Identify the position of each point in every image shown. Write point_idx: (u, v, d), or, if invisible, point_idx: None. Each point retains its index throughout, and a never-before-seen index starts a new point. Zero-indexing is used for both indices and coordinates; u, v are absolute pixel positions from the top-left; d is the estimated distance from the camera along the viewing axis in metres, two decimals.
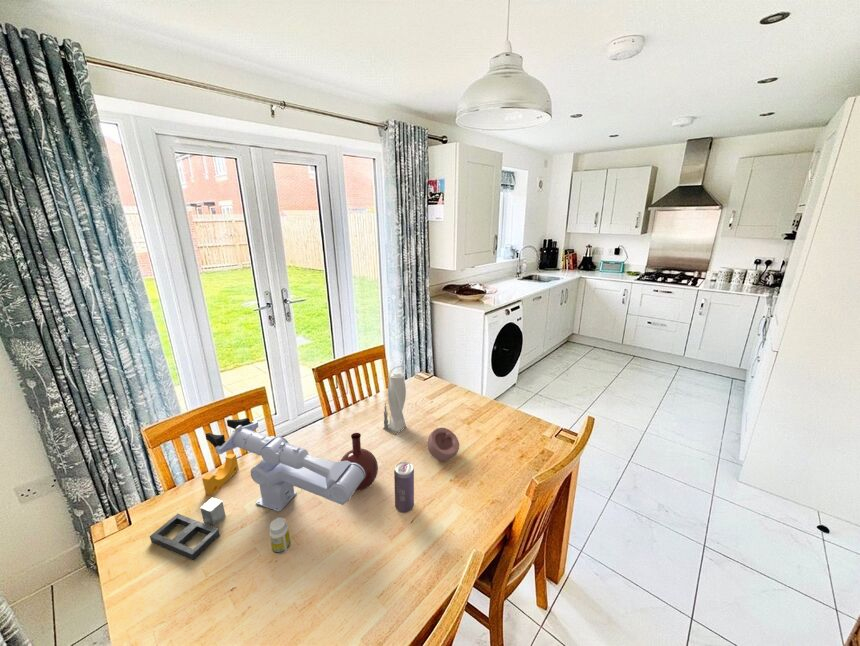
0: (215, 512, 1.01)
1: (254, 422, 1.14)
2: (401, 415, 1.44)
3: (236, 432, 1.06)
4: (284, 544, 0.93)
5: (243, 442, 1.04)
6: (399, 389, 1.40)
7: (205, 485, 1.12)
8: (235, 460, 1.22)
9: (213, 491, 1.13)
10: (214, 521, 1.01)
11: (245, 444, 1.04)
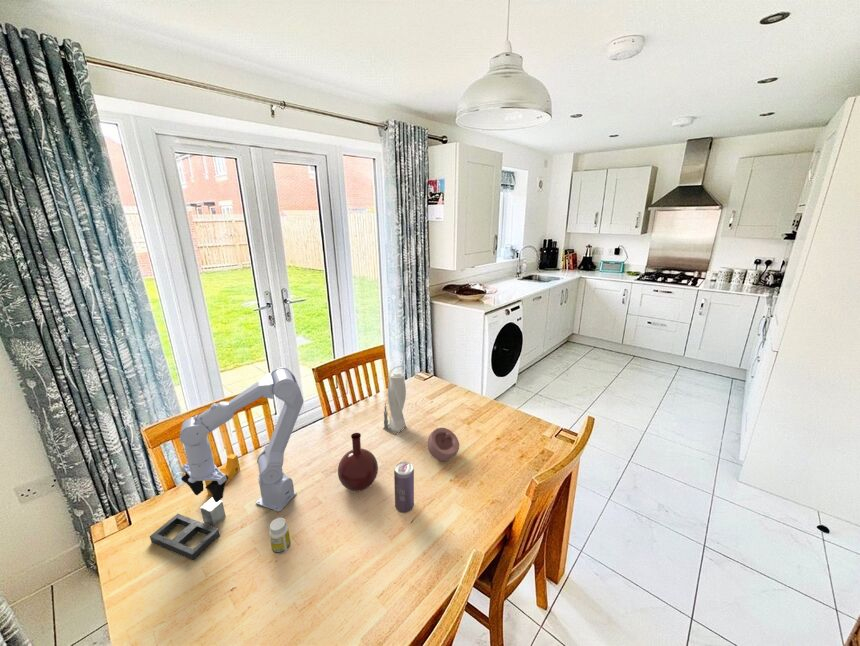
0: (215, 512, 1.01)
1: (183, 469, 0.99)
2: (401, 415, 1.44)
3: (197, 478, 0.95)
4: (284, 544, 0.93)
5: (203, 464, 0.95)
6: (399, 389, 1.40)
7: None
8: (237, 460, 1.22)
9: None
10: (214, 521, 1.01)
11: (195, 463, 0.94)
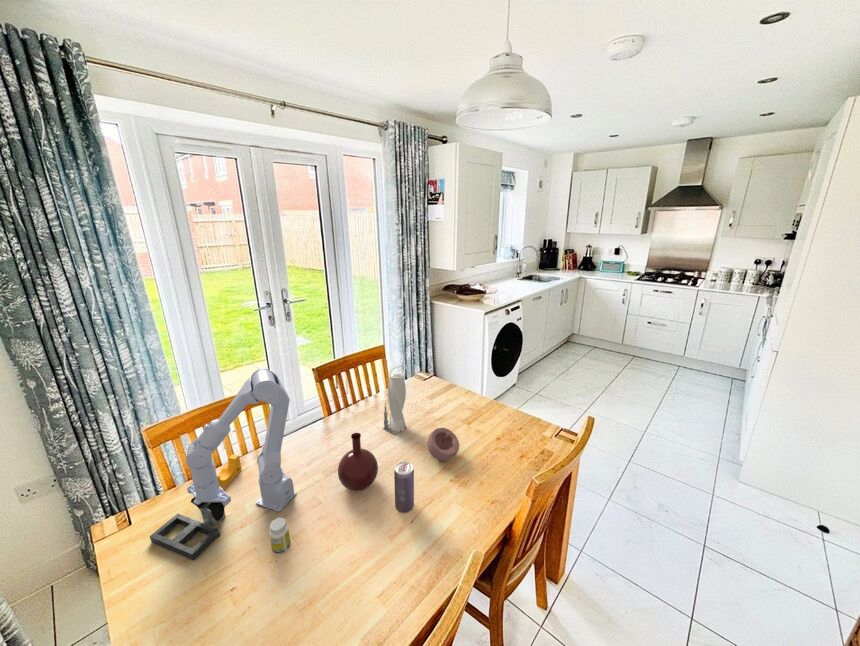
0: None
1: (188, 490, 1.01)
2: (401, 415, 1.44)
3: (202, 499, 0.97)
4: (284, 544, 0.93)
5: (208, 486, 0.97)
6: (399, 389, 1.40)
7: None
8: (238, 460, 1.22)
9: None
10: (214, 521, 1.01)
11: (200, 486, 0.96)
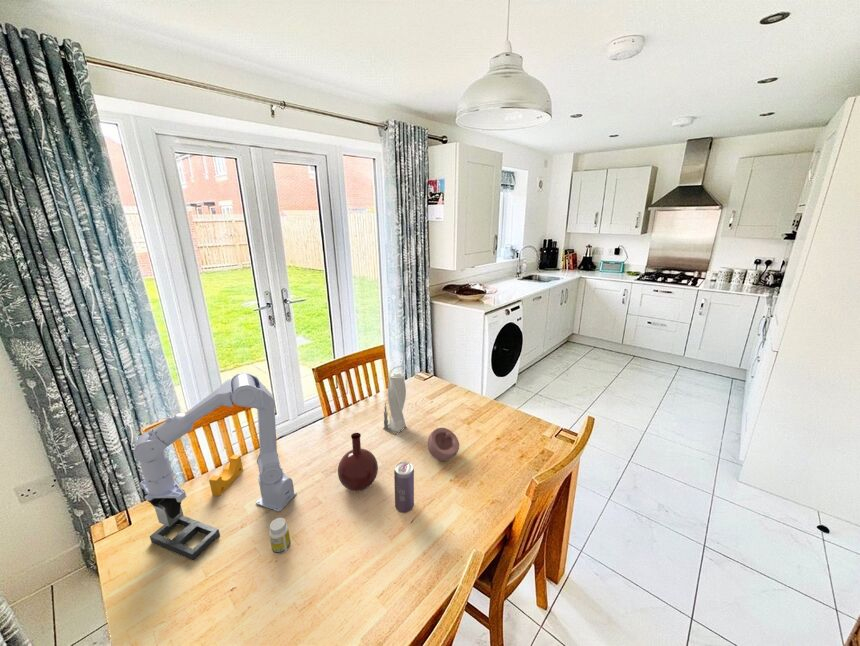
0: None
1: (141, 485, 0.94)
2: (401, 415, 1.44)
3: (154, 495, 0.90)
4: (284, 544, 0.93)
5: (160, 481, 0.90)
6: (399, 389, 1.40)
7: (212, 486, 1.11)
8: (240, 461, 1.21)
9: (220, 492, 1.12)
10: (169, 520, 0.94)
11: (152, 480, 0.89)
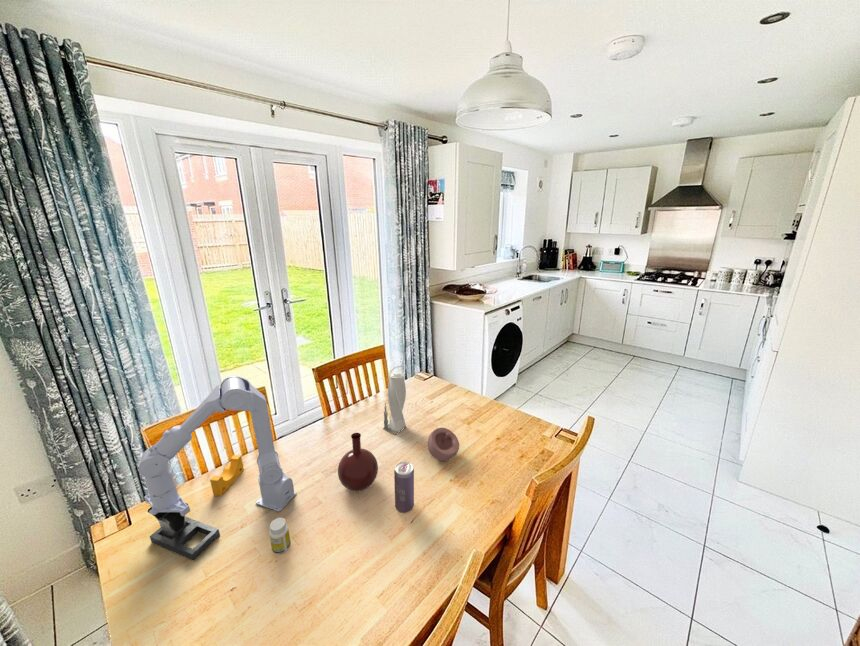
0: None
1: (146, 499, 0.96)
2: (401, 415, 1.44)
3: (159, 509, 0.92)
4: (284, 544, 0.93)
5: (164, 495, 0.92)
6: (399, 389, 1.40)
7: (213, 486, 1.11)
8: (240, 461, 1.21)
9: (221, 492, 1.12)
10: (173, 534, 0.96)
11: (156, 495, 0.91)
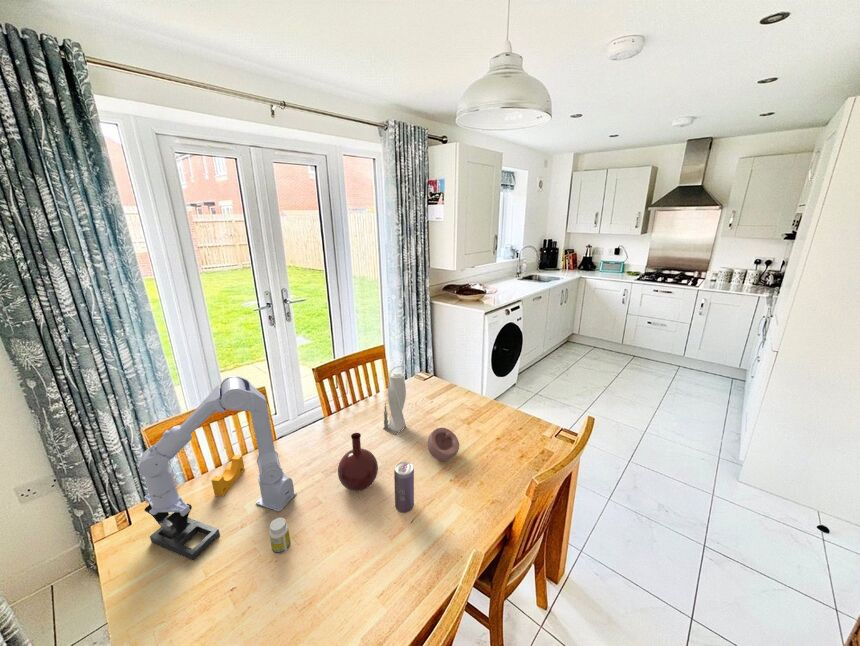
0: None
1: (146, 499, 0.96)
2: (401, 415, 1.44)
3: (159, 509, 0.92)
4: (284, 544, 0.93)
5: (164, 495, 0.92)
6: (399, 389, 1.40)
7: (214, 487, 1.11)
8: (241, 461, 1.21)
9: (223, 492, 1.12)
10: None
11: (156, 495, 0.91)
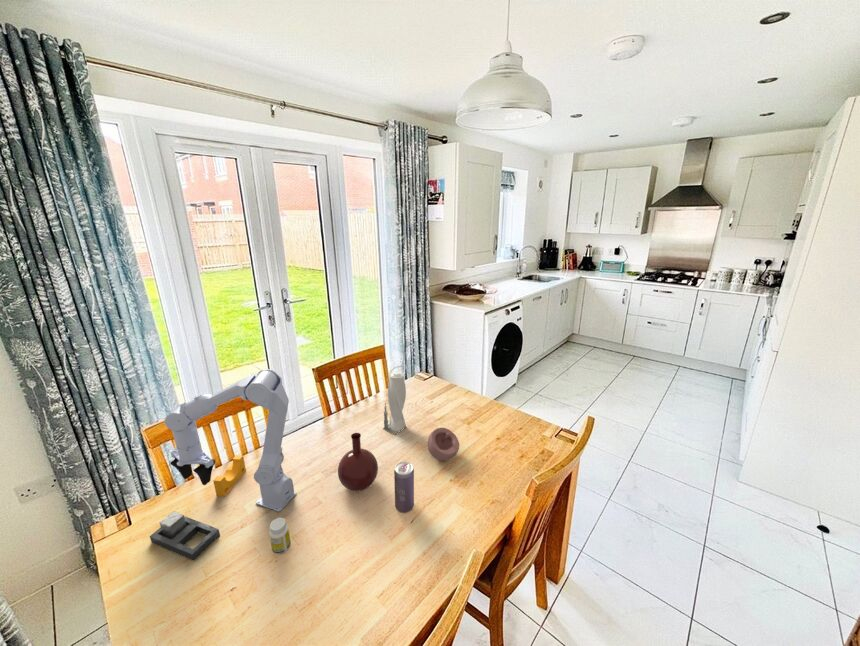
0: (175, 527, 0.96)
1: (172, 454, 1.04)
2: (401, 415, 1.44)
3: (185, 462, 1.00)
4: (284, 544, 0.93)
5: (190, 448, 1.00)
6: (399, 389, 1.40)
7: (216, 487, 1.11)
8: (242, 461, 1.21)
9: (224, 493, 1.12)
10: None
11: (179, 448, 0.99)
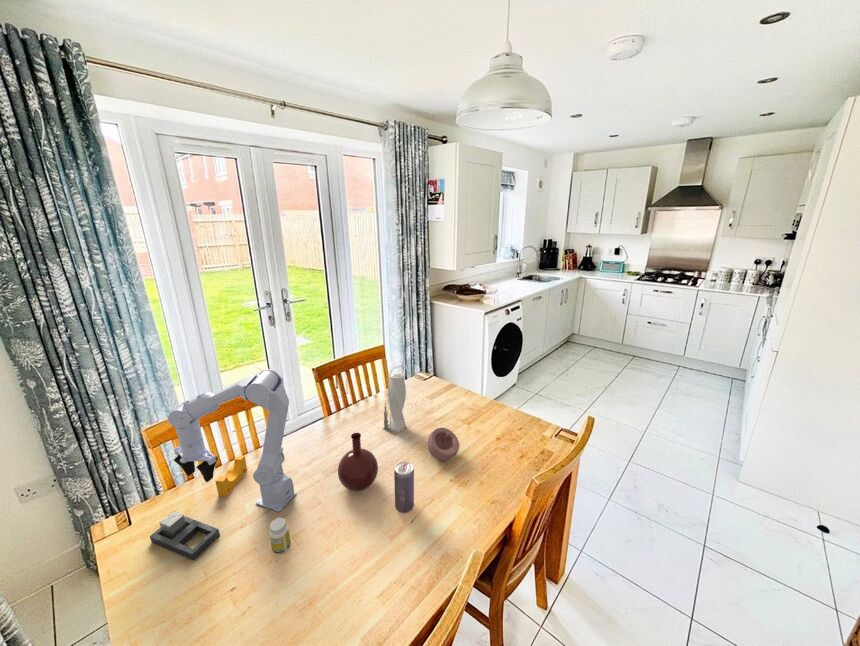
0: (175, 527, 0.96)
1: (175, 451, 1.06)
2: (401, 415, 1.44)
3: (188, 459, 1.02)
4: (284, 544, 0.93)
5: (193, 446, 1.01)
6: (399, 389, 1.40)
7: (218, 487, 1.11)
8: (244, 461, 1.21)
9: (227, 493, 1.12)
10: None
11: (182, 445, 1.00)
